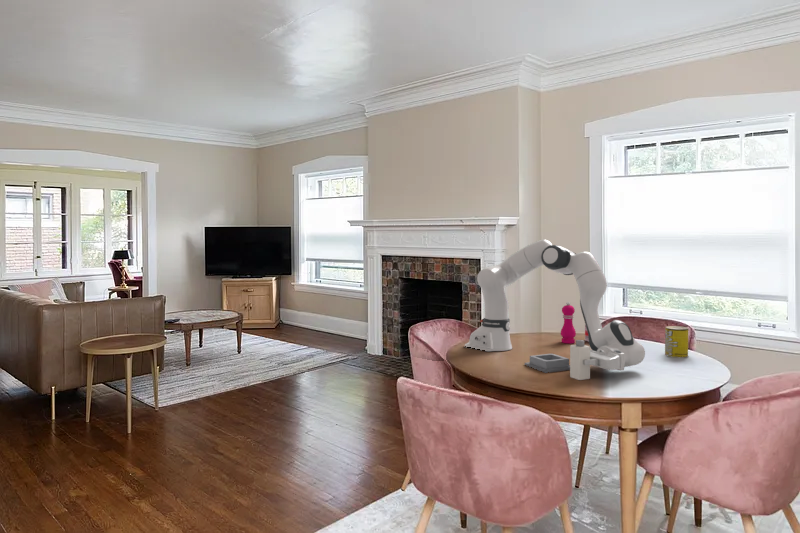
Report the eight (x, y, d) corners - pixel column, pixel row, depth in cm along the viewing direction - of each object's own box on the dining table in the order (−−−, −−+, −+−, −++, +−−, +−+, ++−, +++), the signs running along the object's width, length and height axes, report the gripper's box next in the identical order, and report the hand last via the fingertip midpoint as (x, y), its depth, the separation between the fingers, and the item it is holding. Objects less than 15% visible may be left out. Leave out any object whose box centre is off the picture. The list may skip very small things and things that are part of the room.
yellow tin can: (672, 352, 250) (672, 325, 249) (692, 355, 243) (692, 328, 242) (660, 354, 245) (661, 327, 244) (680, 358, 238) (681, 330, 237)
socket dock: (524, 365, 229) (524, 355, 229) (552, 361, 234) (552, 352, 234) (545, 372, 216) (545, 362, 216) (574, 369, 221) (574, 359, 221)
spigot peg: (570, 377, 210) (570, 340, 209) (580, 375, 212) (581, 338, 211) (579, 380, 205) (579, 342, 204) (590, 378, 207) (590, 341, 206)
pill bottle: (599, 340, 279) (599, 318, 278) (597, 342, 274) (597, 320, 273) (586, 339, 282) (586, 317, 281) (583, 341, 277) (584, 319, 276)
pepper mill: (576, 344, 271) (576, 302, 270) (561, 343, 272) (561, 302, 271) (575, 341, 278) (575, 301, 277) (559, 340, 279) (560, 301, 278)
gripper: (589, 344, 222) (560, 347, 217) (627, 354, 203) (597, 357, 198) (588, 359, 223) (560, 363, 218) (627, 371, 204) (596, 375, 199)
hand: (578, 360), depth 208 cm, fingers closed on spigot peg, 5 cm apart
